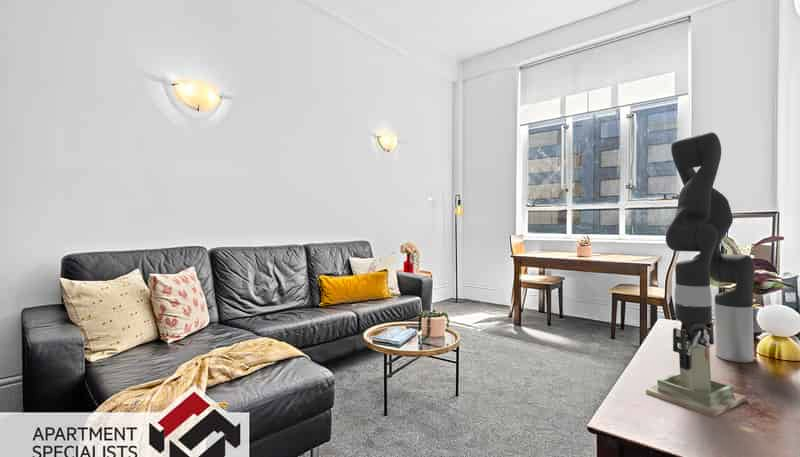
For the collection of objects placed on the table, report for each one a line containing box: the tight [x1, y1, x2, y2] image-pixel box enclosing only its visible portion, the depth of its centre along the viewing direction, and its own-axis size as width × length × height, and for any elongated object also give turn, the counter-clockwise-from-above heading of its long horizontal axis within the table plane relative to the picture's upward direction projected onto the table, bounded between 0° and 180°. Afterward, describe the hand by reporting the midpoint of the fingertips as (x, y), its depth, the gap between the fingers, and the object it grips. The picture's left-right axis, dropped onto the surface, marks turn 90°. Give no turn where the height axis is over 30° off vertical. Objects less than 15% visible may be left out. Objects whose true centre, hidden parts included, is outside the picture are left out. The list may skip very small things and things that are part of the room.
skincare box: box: [679, 343, 712, 395], centre depth 100 cm, size 6×4×12 cm
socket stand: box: [645, 371, 747, 418], centre depth 100 cm, size 16×15×4 cm
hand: (694, 365), depth 100 cm, fingers open, 8 cm apart
